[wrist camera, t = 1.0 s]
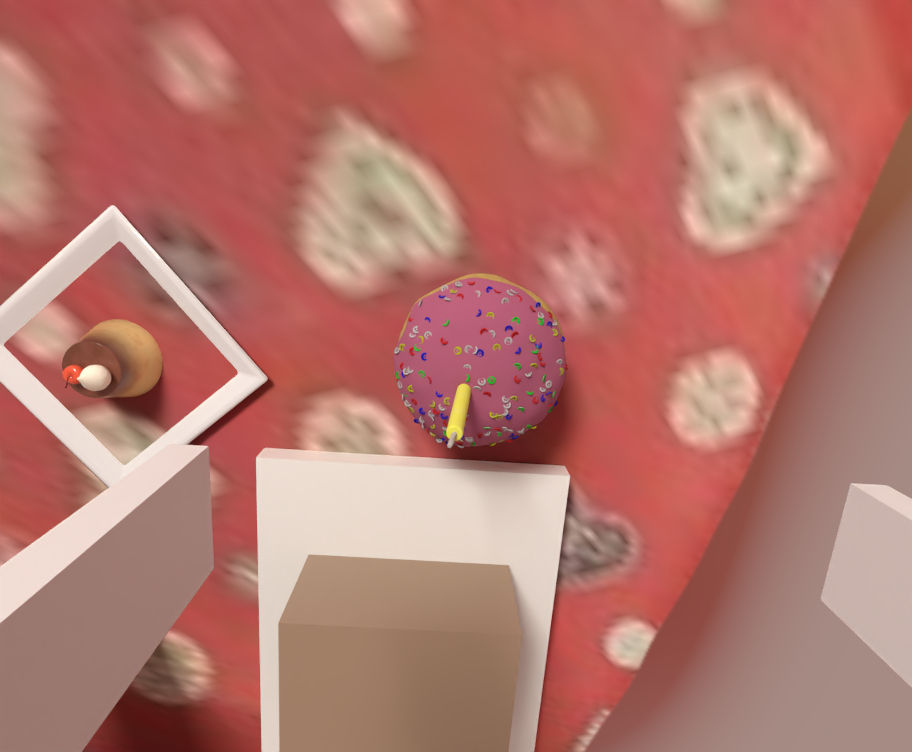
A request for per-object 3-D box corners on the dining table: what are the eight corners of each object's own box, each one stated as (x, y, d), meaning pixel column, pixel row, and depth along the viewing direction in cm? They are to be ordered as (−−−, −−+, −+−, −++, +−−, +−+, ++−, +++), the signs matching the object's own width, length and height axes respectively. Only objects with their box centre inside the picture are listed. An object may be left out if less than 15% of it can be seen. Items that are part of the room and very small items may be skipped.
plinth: (269, 745, 38) (226, 866, 30) (264, 447, 32) (211, 507, 25) (527, 756, 38) (546, 878, 31) (564, 465, 33) (597, 529, 26)
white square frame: (-24, 339, 31) (-107, 356, 26) (124, 205, 29) (64, 198, 25) (129, 490, 33) (78, 531, 29) (274, 374, 32) (245, 397, 27)
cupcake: (473, 444, 33) (487, 558, 21) (368, 345, 31) (321, 408, 19) (580, 345, 31) (659, 407, 20) (477, 236, 30) (496, 233, 18)
